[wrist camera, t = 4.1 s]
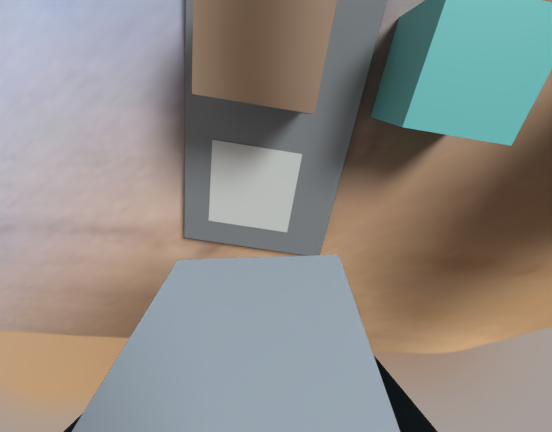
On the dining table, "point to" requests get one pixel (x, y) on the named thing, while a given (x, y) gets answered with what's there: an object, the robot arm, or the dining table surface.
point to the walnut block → (261, 50)
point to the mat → (276, 148)
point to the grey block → (246, 354)
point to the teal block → (467, 67)
